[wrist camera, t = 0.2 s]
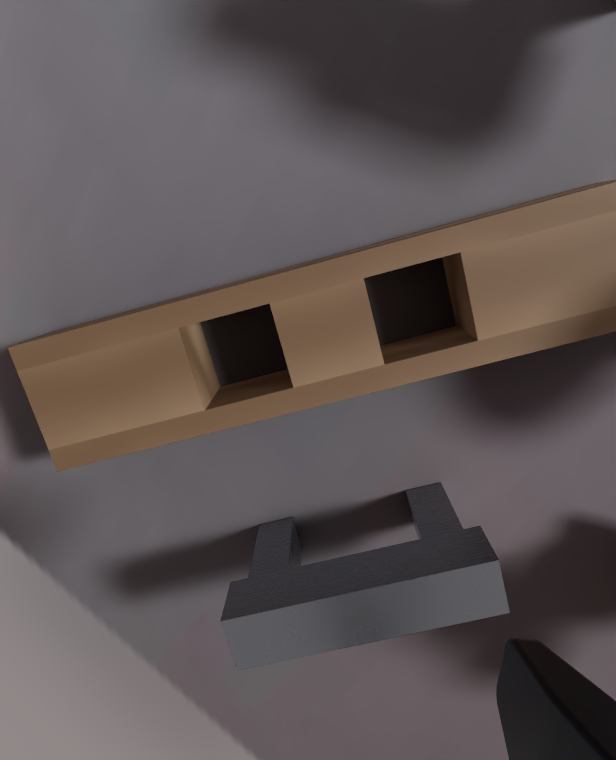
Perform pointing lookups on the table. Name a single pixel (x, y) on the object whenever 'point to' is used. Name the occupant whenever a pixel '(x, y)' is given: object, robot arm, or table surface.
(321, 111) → the table surface
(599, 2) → the table surface
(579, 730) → the robot arm
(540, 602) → the table surface
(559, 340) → the rail
